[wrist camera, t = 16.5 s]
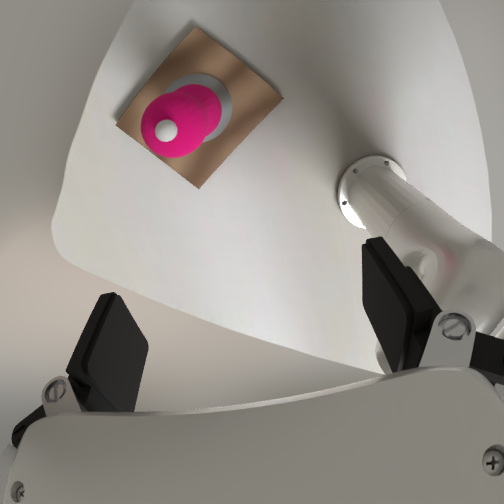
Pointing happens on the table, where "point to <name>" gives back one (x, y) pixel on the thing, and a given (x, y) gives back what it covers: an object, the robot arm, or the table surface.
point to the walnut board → (223, 85)
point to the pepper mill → (180, 120)
